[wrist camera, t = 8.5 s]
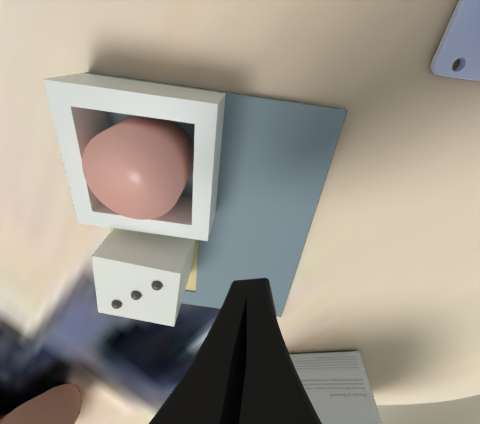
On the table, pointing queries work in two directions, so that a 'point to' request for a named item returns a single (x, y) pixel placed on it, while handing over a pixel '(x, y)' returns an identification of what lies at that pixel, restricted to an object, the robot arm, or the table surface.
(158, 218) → the collar
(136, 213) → the button
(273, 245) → the board
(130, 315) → the die
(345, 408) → the supplement box
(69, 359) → the table surface
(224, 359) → the robot arm
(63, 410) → the medical training model
